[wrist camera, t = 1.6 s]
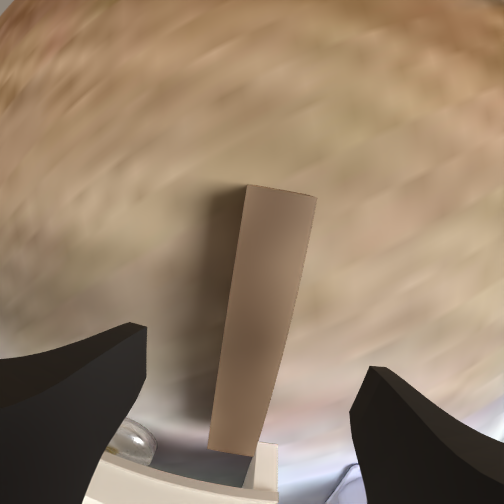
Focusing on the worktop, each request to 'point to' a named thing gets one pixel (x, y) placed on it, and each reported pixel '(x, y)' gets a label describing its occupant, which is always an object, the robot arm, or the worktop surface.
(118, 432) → the clear glass cup
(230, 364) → the tan long block
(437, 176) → the worktop surface
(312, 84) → the worktop surface
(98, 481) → the cream step stool
